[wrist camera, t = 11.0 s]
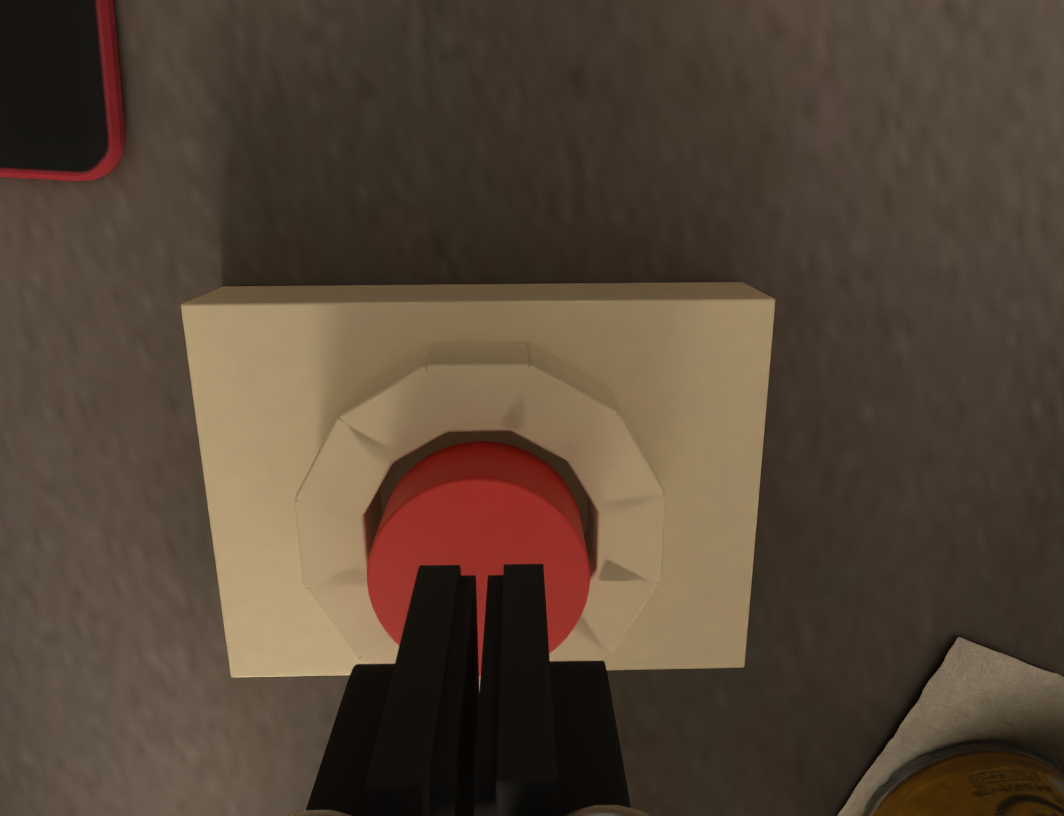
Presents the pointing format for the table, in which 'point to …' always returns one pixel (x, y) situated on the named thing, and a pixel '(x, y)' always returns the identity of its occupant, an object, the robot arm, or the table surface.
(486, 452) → the button
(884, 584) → the table surface
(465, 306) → the control block
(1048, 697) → the condiment
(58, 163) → the smartphone
